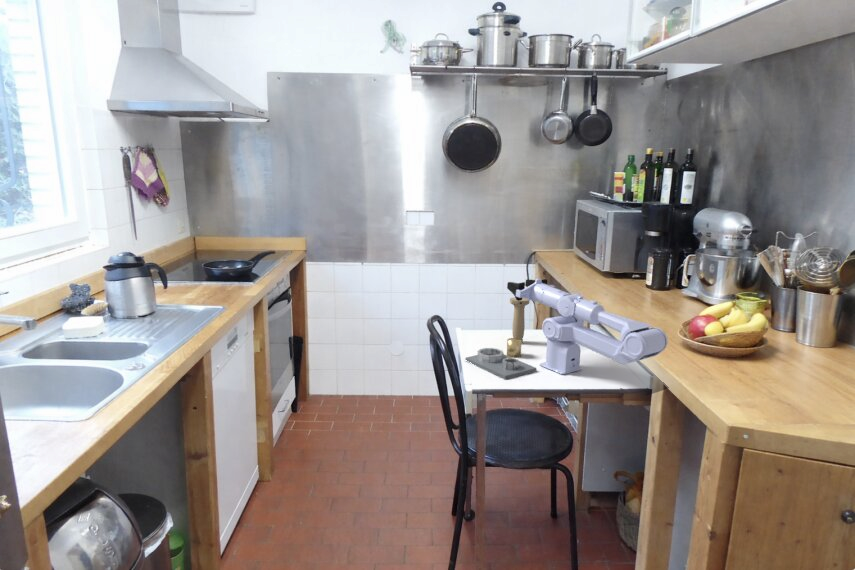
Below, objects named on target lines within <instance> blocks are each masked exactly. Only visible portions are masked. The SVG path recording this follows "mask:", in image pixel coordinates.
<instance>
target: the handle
mask: <svg viewBox="0 0 855 570" xmlns="http://www.w3.org/2000/svg"><path fill="white" fill-rule="evenodd" d="M530 302H531V300H529V299H526V298H522V300H520V301H518V300H516V298H515V297H510V298H509V303H510V304H511V305H513V307H514V309H513V317H512V318H513V319H512V327H511V328H512V330H511V331H512V338H518V339H521V344H523V342H524V335H525V306H527V305H529V304H530Z"/></svg>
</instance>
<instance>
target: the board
mask: <svg viewBox="0 0 855 570" xmlns="http://www.w3.org/2000/svg"><path fill="white" fill-rule="evenodd" d="M505 358H512V357H509V356H507V354H503V359H505ZM465 360H467V361H469V362H471V363H472V364H471V363H470V364H471V365H473V364H474V365H473V366H475V365H476V367H478V368H480V369H482V370H484V371H487V372H488V373H490V374H493V375H495V376H497V377H499V378H501V379H502V380H508V379H511V378H515V377H519V376H524V375H527V374H530V373H531V374H532V373H535V372H537V367H536V366H533V365H530V364H528V363H525V362H523V361H520V360H519V365H518V369H516V370H507V369H504V368H502V361H501V362H496V363H488V362H482V361H480V360H478V358H477V354H476V355H471V356H466V357H465ZM467 361H466V362H467ZM469 362H468V363H469Z"/></svg>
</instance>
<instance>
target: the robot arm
mask: <svg viewBox="0 0 855 570" xmlns="http://www.w3.org/2000/svg"><path fill="white" fill-rule="evenodd" d="M506 288H507V290H508V291H510V293H512V294H513V296H514V298H516V300H518V301H520V300H522V298H526V299H529V300H530V301H533V302H537V303H539V304H542V305H544V306H547V307H549V308H552V309H553V310H554V309H555V310H557V311H558V314H560V315H559V316H554V317H546V318H545V319H544V320H543V322H542V325H541V330H542V333H543V335H544V337H545V339H546V341H547V342H546V352H545V354H546V356H545V361H544V362H541V363H539V364H538V365H539V366H541V367H543V368H545V369H548V370H551V371H552V372H555V373H557V374H559V375H560V374H561V375H567V374H570V373H573V372H576V371H581V370H582V367H580V365H581V363H580V361H581V346H582V347H583V348H586V349H588V350H590V351H592V352H595V353H596V354H599V355H602V356H603V357H606V358H608V359H611V360H612V361H615V362H617V363H618V364H619V363H620V364H621V365H628V364H631V363H634V362H635V363H636V362H639V361H642V360H645V359H648V358H652V357H656V356H658V355H660V354H661V353H662V352H663V351H665V350H666V349H667V346H668V341H669V340H668V337H667V335H666V332H665V331H664V330H662V329H661V328H659V327H653V325H651V324H650V323H647V322H643V321H638V320H635V319H632V318H628V317H625V316H622V315H618V314H616V313H613V312H612V313H611V312H610V311H609V312H608V311H606V309H605V308H604V306H603V305H601V304H599V303H598V301H597V300H594V299H593V300H588V299H585V298H584V297H583V296H582V295H581V293H579V292H578V293H577V292H576V293H572V294H571V293H568V292H566V291H563V290H561V289H559V288H556V285H553V284H548V280H547V278H545V279H544V278H543V279H541V278H536V279H525V281H524V282H519V283H518V282H514V281H508V282H507V287H506ZM584 322H586V323H589V324H590V325H593V326H594V325H595V326H597V325H598V324H602V325H604V326H606V327H608V328H611V329H612V330H614V331H617V332H619V333H620V340H619V339H616V338H614V337H612V336H609V335H607V334H604V333H602V332H599V331H598V330H595V329H592V328H590V327H587V326H585V325H584ZM650 327H651V328H650Z"/></svg>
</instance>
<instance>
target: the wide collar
mask: <svg viewBox="0 0 855 570" xmlns="http://www.w3.org/2000/svg"><path fill="white" fill-rule="evenodd" d="M503 354H504V351H503V350H501V349H498V348H494V347H484V348H479V349H478V350H477V353H476V355H477V358H478V360H480V361H482V362H488V363H496V362H501V361H502V360H503ZM504 355H505V354H504Z"/></svg>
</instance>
